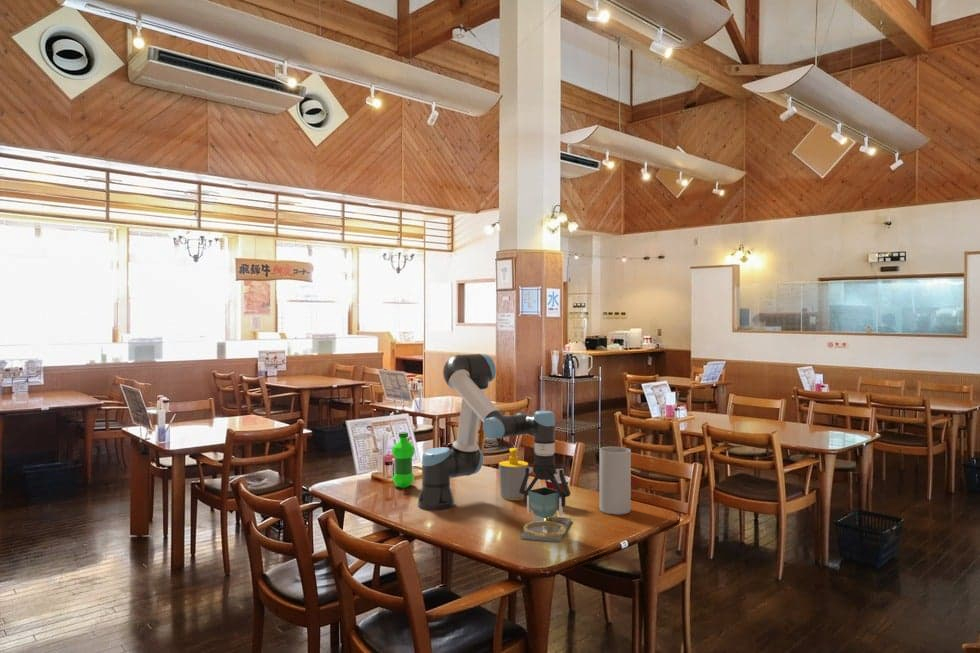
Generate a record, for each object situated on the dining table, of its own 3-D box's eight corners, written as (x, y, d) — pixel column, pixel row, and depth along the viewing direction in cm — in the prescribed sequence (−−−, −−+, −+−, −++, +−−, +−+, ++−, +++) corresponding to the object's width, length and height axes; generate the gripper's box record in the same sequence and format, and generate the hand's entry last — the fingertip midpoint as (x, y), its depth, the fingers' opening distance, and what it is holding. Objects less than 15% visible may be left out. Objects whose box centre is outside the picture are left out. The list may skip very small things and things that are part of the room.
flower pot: (561, 516, 233) (561, 491, 233) (544, 520, 228) (544, 495, 228) (545, 510, 240) (545, 486, 240) (527, 515, 235) (527, 490, 235)
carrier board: (519, 538, 229) (519, 516, 229) (534, 518, 253) (534, 498, 253) (561, 542, 225) (561, 520, 224) (572, 521, 249) (572, 501, 248)
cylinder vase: (596, 506, 268) (596, 446, 268) (625, 505, 269) (625, 446, 269) (604, 515, 256) (604, 452, 256) (634, 514, 257) (634, 452, 257)
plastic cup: (556, 511, 262) (556, 481, 262) (538, 505, 270) (538, 476, 270) (575, 506, 268) (575, 478, 268) (557, 500, 277) (557, 473, 277)
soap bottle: (494, 499, 280) (494, 450, 280) (503, 491, 292) (503, 445, 292) (523, 501, 276) (523, 452, 276) (531, 494, 288) (531, 446, 288)
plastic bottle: (397, 490, 295) (397, 435, 295) (389, 485, 304) (389, 432, 304) (417, 487, 300) (417, 433, 300) (409, 482, 309) (409, 430, 309)
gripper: (510, 454, 234) (510, 514, 234) (575, 457, 227) (575, 519, 227) (515, 450, 241) (515, 508, 241) (578, 453, 234) (578, 513, 234)
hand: (544, 514), depth 234 cm, fingers closed on flower pot, 11 cm apart
